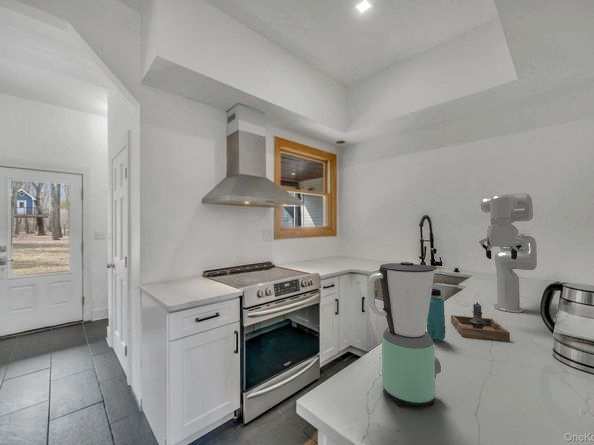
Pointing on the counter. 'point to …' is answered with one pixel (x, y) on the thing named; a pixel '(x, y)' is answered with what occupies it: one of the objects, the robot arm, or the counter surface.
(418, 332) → the mint green blender
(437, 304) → the beverage bottle
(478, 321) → the dark grey rounded piece
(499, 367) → the counter surface
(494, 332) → the tray
